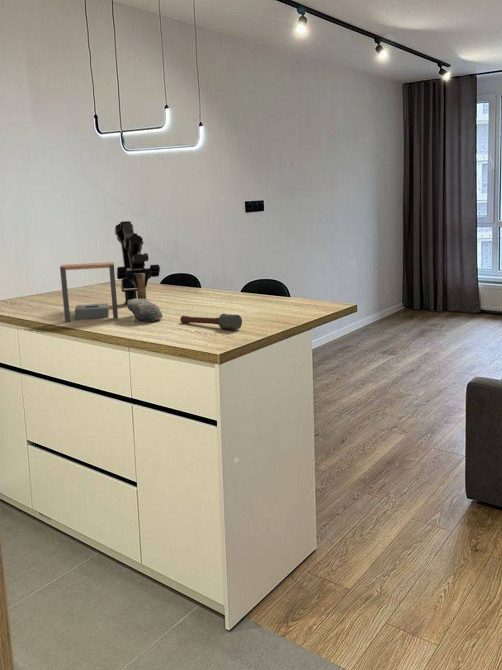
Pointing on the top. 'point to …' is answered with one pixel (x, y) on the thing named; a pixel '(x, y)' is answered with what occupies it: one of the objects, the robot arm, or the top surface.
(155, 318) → the rock
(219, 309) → the top surface
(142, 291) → the peg
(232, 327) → the mallet
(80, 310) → the socket stand
